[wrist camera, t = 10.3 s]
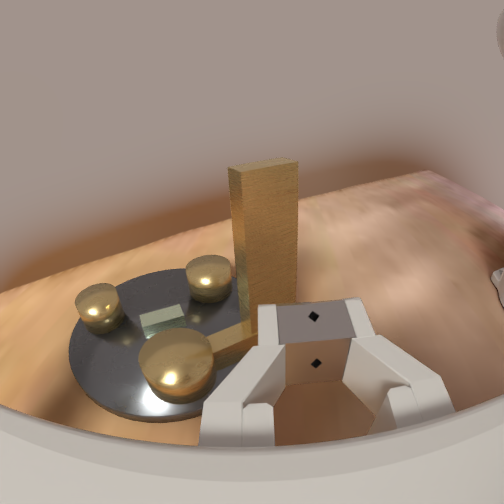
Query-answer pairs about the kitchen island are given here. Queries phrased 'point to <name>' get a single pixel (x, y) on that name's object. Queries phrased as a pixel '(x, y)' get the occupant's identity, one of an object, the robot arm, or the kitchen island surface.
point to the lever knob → (248, 281)
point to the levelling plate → (148, 333)
